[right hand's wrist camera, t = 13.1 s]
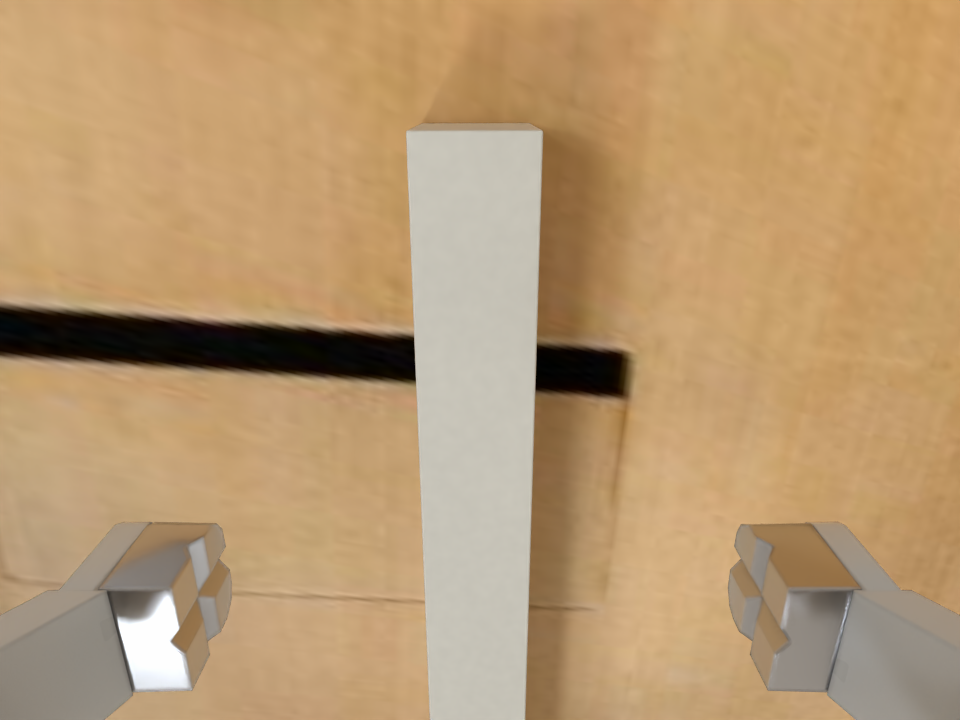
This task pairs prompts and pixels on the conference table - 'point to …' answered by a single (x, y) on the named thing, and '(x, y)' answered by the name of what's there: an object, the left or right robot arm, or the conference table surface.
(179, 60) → the conference table surface
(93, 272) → the conference table surface
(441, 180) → the post
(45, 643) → the right robot arm
